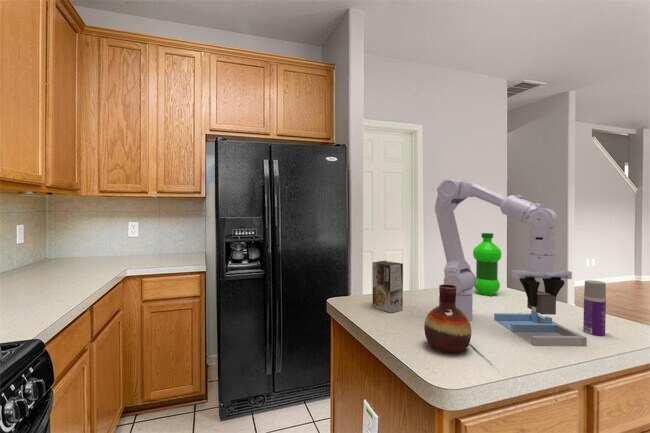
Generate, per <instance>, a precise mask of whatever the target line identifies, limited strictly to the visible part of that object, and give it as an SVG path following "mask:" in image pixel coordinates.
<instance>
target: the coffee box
mask: <svg viewBox="0 0 650 433" xmlns="http://www.w3.org/2000/svg"><path fill="white" fill-rule="evenodd" d="M371 269H372V308H374V309H377V310H381V311H383V312H387V313H389V314H391V313H396V312H400V311H401V312H402V311H403V309H404V305H403V304H404V303H403V302H404V300H403V299H404V292H403V291H404V290H403V288H404V284H403V283H404V263H400V262H395V261H390V260H389V261H388V260H380V261H379V260H378V261H373V262H372V268H371Z"/></svg>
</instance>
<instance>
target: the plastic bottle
mask: <svg viewBox="0 0 650 433" xmlns="http://www.w3.org/2000/svg"><path fill="white" fill-rule="evenodd" d="M481 238H482V242H480V243H479V244H478V245H476V246H475V247H474V248H473V250H472V255H473V258H474V259H475V260H476V262H475V263H476V265H475V266H476V267H475V268H476V269H475V270H476V271H475V272H476V273H475V274H476V275H475V277H476V284H475V286H474V287H473V288H474V289H475V290H476V291H477V292H478V293H479V294H480V295H482V296H494V294H496V293H497V292H498V291H499V290H500V288H501V283H500V281H499V279H498V275H499V274H498V273H499V270H498V266H499V265H498V264H499V261H500V260H501V259H502V250H501V249H500V248H499V246H497V244H495V243H494V242H492V239H493V238H494V233H492V232H481Z"/></svg>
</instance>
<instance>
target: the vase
mask: <svg viewBox="0 0 650 433" xmlns="http://www.w3.org/2000/svg"><path fill="white" fill-rule="evenodd" d="M438 287H439V288H438V289H439V295H440V305H439V304H438V306H435V307H434V308H432V309H430V311H429V312H428V313H427V315H426V317H425V320H424V325H423V327H424V329H423V330H424V335H425V339H426V341H427V343H428V344H429V346H430V347H431V349H433V350H435V351H437V352H440V353H443V354H449V355H451V354H452V355H455V354H457V355H458V354H460V353H463V352H465V351H466V350H467V349H468V347H469V344H470V343H471V339H472V326H471V321H470V322H469V320H468V318H467V316H466V315H465V314H464V313H463V312H462V311H461V310H460V309H458V308H456V291H457V287H456V286H454V285H447V284H444V283H443V284H440V285H438Z"/></svg>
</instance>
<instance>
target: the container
mask: <svg viewBox="0 0 650 433" xmlns="http://www.w3.org/2000/svg"><path fill="white" fill-rule="evenodd" d="M606 285H607V284H606V282H604V281H600V280H591V279H589V280H584V287H583V289H584V290H583V293H584V294H583V326H582V327H583V328H582V331H583V333H585V334H587V335H591V336H595V337H606V320H607V319H606V318H607V317H606V314H607V312H606V310H607V296H606V295H607V289H606V288H607V287H606Z"/></svg>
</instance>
